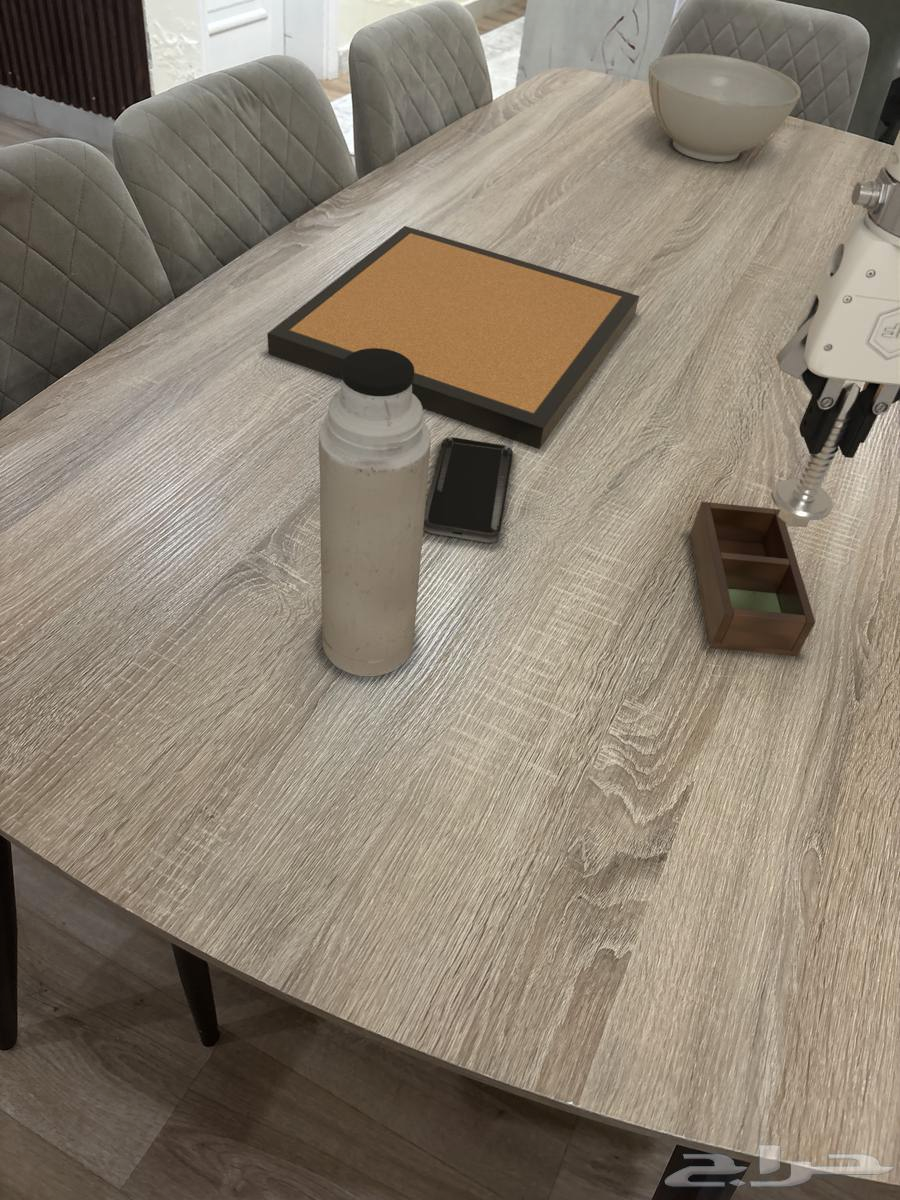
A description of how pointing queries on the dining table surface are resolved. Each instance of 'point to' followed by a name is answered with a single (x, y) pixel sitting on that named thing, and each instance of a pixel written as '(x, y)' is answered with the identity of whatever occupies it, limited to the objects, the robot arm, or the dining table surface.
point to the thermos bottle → (372, 513)
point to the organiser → (749, 580)
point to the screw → (815, 471)
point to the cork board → (465, 330)
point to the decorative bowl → (718, 103)
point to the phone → (468, 490)
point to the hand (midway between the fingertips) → (827, 443)
